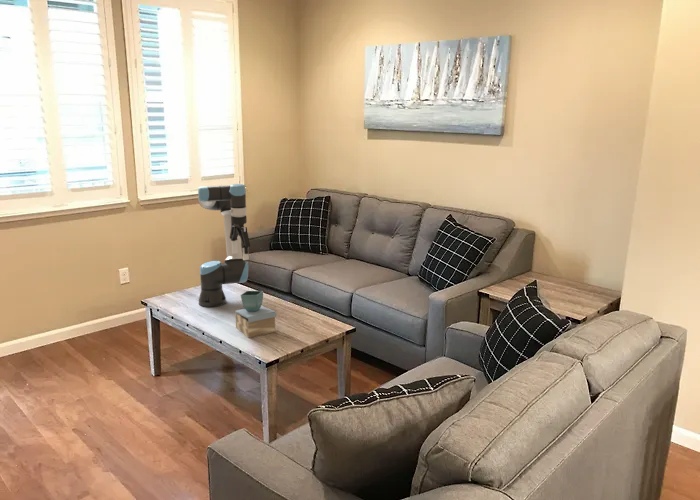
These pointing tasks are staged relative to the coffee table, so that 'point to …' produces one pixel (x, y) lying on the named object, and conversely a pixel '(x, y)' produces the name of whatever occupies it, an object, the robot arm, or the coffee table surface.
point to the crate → (255, 326)
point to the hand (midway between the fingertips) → (240, 256)
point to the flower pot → (252, 300)
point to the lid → (257, 314)
